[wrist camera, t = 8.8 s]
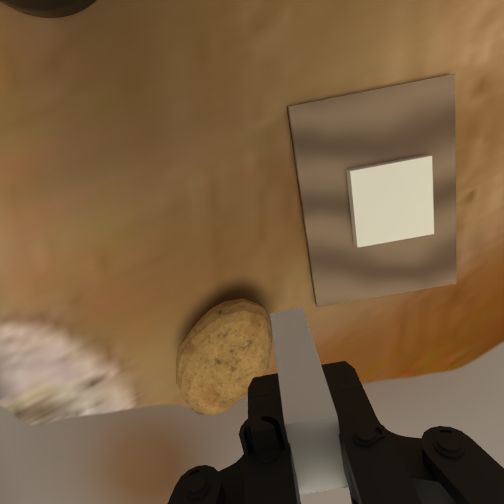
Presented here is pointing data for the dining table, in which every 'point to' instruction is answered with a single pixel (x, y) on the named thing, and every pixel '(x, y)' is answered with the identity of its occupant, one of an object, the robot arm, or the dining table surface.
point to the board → (364, 154)
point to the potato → (224, 355)
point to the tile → (391, 200)
